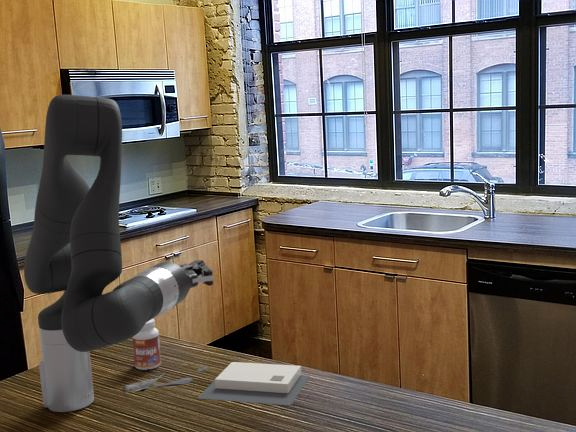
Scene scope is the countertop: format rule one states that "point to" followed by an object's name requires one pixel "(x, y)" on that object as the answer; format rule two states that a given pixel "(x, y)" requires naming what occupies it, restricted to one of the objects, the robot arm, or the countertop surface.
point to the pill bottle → (147, 347)
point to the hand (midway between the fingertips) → (200, 265)
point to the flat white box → (258, 377)
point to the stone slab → (147, 383)
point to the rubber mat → (254, 394)
